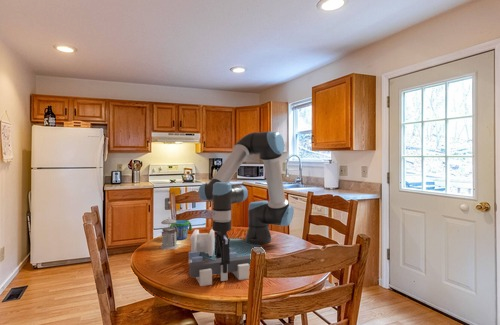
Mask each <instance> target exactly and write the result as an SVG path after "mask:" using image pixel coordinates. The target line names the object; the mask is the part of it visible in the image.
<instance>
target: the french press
mask: <svg viewBox="0 0 500 325" xmlns="http://www.w3.org/2000/svg"><path fill="white" fill-rule="evenodd" d="M166 204H168V205H170V204H172V203H171V201H167V202H166ZM176 221H177V220H175V219H173V218H166V219H163V220H162V221H161V224H162V225H171V224H174V223H176ZM174 227H175V225H174ZM174 227H172V228H170V227H164V228H162V229H161V230H162V231H161V245H160V246H159V249H161V250H166V251H167V250H174V249H177V248H178V247H179V245H178V244H177V239H176V238H177V237H176V231H174V230H176V229H175V228H174ZM176 228H177V227H176ZM173 233H174V234H173ZM177 236H178V229H177Z"/></svg>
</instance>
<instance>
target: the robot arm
mask: <svg viewBox="0 0 500 325" xmlns="http://www.w3.org/2000/svg"><path fill="white" fill-rule="evenodd" d="M284 151H285V140H284V138H283V136H282V134H281V133H280V132H278V131H271V130H270V131H260V132H259V131H258V132H256V131H255V132H250V133H247V134H246V135H244V136H243V137H241V138H240V139H239V140H238V141H237V142H236V143H235V144H234V146H233V147H232V151H231V152H230V154H229V155H228V157H227V158H226V160H225V161H224V162H223V163H222V165H221V166H220V167H219V169H218V170H217V172H216V173H215V174H214V175H213V177H212V178H211V179H210V181H209V182H208V183H203V184H200V186H199V188H198V195H199V198H200V199H201V200H203V201H207V202H212V212H211V216H212V220H213V221H212V229H213V230H214V252H213V255H215V260H216V259H221V262H222V263H221V264H220V265H221V274H220V282H224V281H228V279H229V278H228V277H229V276H228V275H229V272H228V264H230V251H229V247H230V241H231V239H230V238H229V235H228V232H229V231H231V230H232V221H231V220H232V205H233V204H237V203H241V202H244V201H245V200H247V198H248V195H249V194H248V193H249V192H248V189H247V187H246V186H245V185H243V184H236V185H234V184H232V183H231V182H230V181H231V180H232V178H234V175H235V174H236V172H237V171H238V169H240V167H241V165H242V164H243V163H244V161H245V160H247V159H249V157H250V156H251V155H259V159H260V160H261V161H262V162H263V167H264V174H265V178H266V179H265V180H266V187H267V191H268V192H267V193H268V197H269V201H268V200H257V201H251V202H250V203H249V204H248V209H247V211H248V228H247V232H246V234H245V241H247V243H248V242H249V244H254V245H256V244H257V245H264V244H269V243H271V242H272V235H271V232H270V229H269V225H271V226H272V225H274V226H280V227H289V225H291V223H292V221H293V218H294V207H293V205H291V204H289V200H288V199H287V198H286V197H285V196H286V195H285V189H284V181H283V174H282V169H281V168H282V167H281V161H280V159H281V157H282V155H283V153H284ZM215 275H217V276H218V275H219V274H215Z"/></svg>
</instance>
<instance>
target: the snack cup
mask: <svg viewBox="0 0 500 325" xmlns="http://www.w3.org/2000/svg"><path fill="white" fill-rule="evenodd" d="M175 221H176V223H174V224H169V228H173V227H174V225H175V227H174V228H175V229H176V230H174V231H176V237H177V238H176V240H179V241H180V240H185V239H187V238H188V232H189V231H191V232H192V229H193V226H192V223H191V222H190V221H189V220H187V219H185V220H184V219H183V220H182V219H179V220H178V219H177V220H175ZM176 227H177V228H176ZM177 229H178V236H177ZM173 235H174V233H173Z"/></svg>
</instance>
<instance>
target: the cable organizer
mask: <svg viewBox="0 0 500 325" xmlns="http://www.w3.org/2000/svg"><path fill="white" fill-rule="evenodd" d="M189 240H190V252H192V251H199V256H201V255H200V253H205V255H207V254H208V257H210V256H212V257H213V255H214V252H215V231H214V230H213V228H211V229H210V231H209V233H203V232H202V233H201V232H200V230H199V229H194V230H193V232H192V234H191V235H190V237H189Z"/></svg>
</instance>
